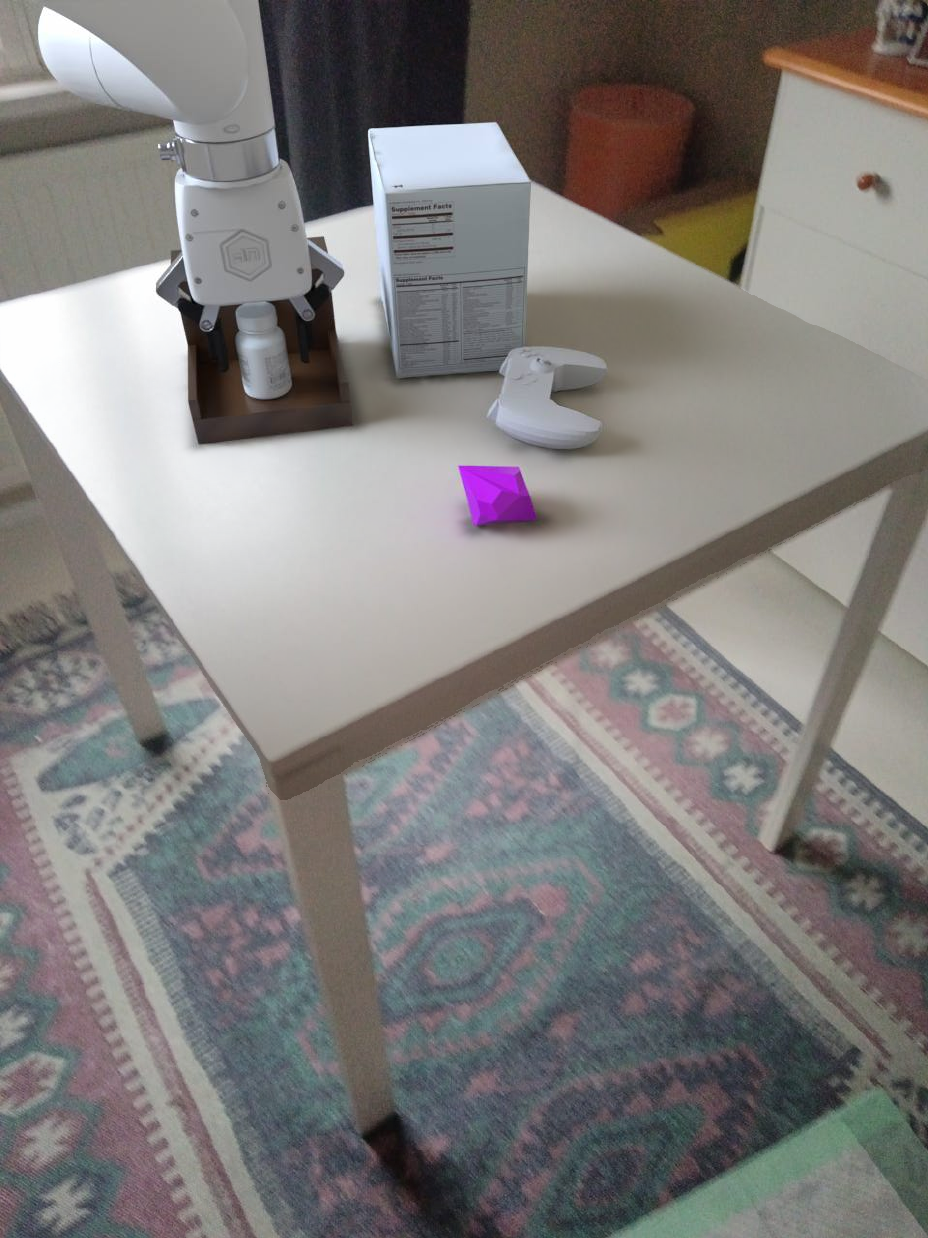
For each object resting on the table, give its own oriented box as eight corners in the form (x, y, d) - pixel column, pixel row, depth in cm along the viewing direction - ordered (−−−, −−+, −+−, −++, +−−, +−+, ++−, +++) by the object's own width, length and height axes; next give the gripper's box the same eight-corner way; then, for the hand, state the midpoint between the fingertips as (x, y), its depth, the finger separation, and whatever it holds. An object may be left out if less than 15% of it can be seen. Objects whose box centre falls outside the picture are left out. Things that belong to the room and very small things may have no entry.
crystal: (486, 543, 78) (486, 496, 75) (453, 507, 81) (452, 461, 78) (541, 523, 80) (543, 476, 76) (506, 488, 83) (507, 442, 80)
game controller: (605, 431, 83) (491, 401, 83) (590, 472, 86) (480, 443, 86) (612, 347, 94) (510, 321, 93) (598, 387, 97) (500, 361, 96)
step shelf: (196, 444, 88) (169, 331, 81) (194, 356, 100) (170, 250, 92) (354, 425, 90) (343, 313, 83) (335, 340, 102) (323, 235, 94)
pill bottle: (297, 377, 92) (285, 298, 86) (286, 402, 88) (274, 322, 83) (251, 375, 92) (237, 296, 87) (239, 400, 89) (223, 320, 83)
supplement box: (528, 370, 97) (536, 182, 84) (394, 381, 96) (382, 192, 83) (497, 291, 109) (499, 117, 97) (378, 301, 108) (365, 125, 95)
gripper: (112, 179, 72) (166, 393, 84) (346, 159, 74) (365, 370, 87) (116, 144, 77) (167, 350, 90) (335, 127, 80) (355, 330, 92)
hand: (264, 358), depth 88 cm, fingers open, 6 cm apart
